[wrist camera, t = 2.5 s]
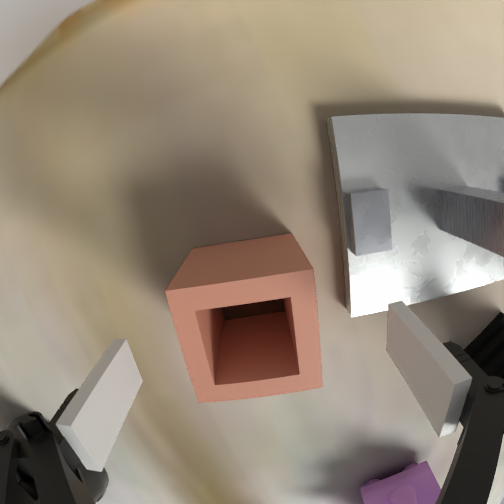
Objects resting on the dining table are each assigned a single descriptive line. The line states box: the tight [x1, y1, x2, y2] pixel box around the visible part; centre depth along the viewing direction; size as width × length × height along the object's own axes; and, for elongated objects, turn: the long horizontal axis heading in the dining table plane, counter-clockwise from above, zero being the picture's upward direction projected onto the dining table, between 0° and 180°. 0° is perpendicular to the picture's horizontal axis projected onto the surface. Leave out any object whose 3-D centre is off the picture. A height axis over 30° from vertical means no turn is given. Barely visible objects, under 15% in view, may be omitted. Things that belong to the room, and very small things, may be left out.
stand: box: [326, 113, 504, 317], centre depth 17 cm, size 18×14×10 cm
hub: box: [165, 233, 323, 403], centre depth 20 cm, size 7×7×8 cm
